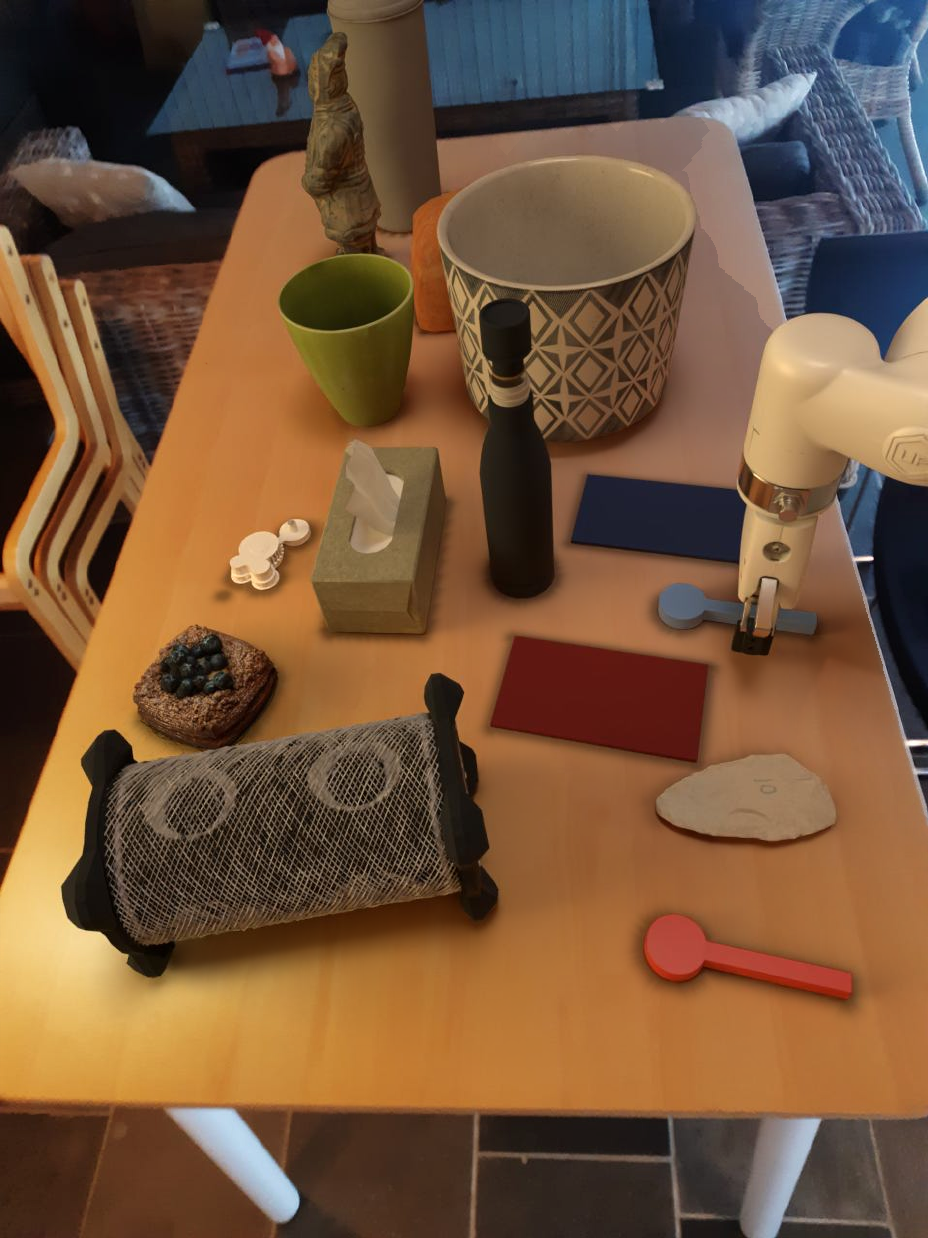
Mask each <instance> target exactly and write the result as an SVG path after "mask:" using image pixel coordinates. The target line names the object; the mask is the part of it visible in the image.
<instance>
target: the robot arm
mask: <svg viewBox="0 0 928 1238" xmlns="http://www.w3.org/2000/svg"><path fill="white" fill-rule="evenodd" d="M743 443H744V444H743V447H742V453H741V458H740V462H739V467H738V472H737V473H738V474H737V477H736V490H738V492H739V494H740V496H741V498H742V499H743V501H744V502H745V503H746V504H747V507H746V512H745V517H744V523H743V531H742V539H741V550H740V563H739V565H738V566H739V567H738V587H737V590H738V591H737V597H738V599H739V600H740V601H741V603H744V607H743V613H742V618H741V620H738V621H737V624H735V629H734V634H733V636H732V642H731V646H730V647H731V648H730V649H731V651H732V652H734V653H740V654H744V655H747V656H754V657H755V656H760V657H767V656H768V655H769V654H770V651H771V647H772V644H773V641H774V637H775V634H776V632H777V630H776V620H777V615H778V609H779V608H781V609H789V610H794V608H795V607H796V606H797V605H798V602H799V599H800V594H801V590H802V587H803V582H804V579H805V575H806V571H807V568H808V564H809V561H810V556H811V552H812V548H813V544H814V539H815V535H816V530H817V525H818V520H819V516H820V515H822V514H824V513H825V512H827V511H828V510H829V509H830V508H831V507H832V505H833V504H834V502H835V499H836V496H837V494H838V491H839V488H840V485H841V483H842V481H843V476H844V473H845V471H846V467H847V464H848V461H849V459H852V461H855V462H858V463H859V464H861V465H863V466H864V467H867V468H869V469H871V470H873V471H875V472H877V473H879V474H881V475H884V476H886V477H889V478H891V479H893V480H896V481H898V482H901V483H905V484H908V485H913V486H920V487H928V296H927V297H926V298H925V299H924V300H923V301H922V302H921V303H919V305H917V306H916V307H915V308H914V309H913V310H912V311H911V312H910V314H908V316H907V317H906V318H905V319H904V321H903V322H902V324H901V325H900V326H899V327H898V329H897V330H896V332H895V334H894V336H893V337H892V340H891V342H890V345H889V347H888V348H887V351H886V354H885V356H884V359H882V356H881V349H880V346H879V343H878V340H877V339H876V337H875V334H874V333H873V332H871V330H870V329H869V328H867V327H866V326H864V325H863V324H862V323H861V322H858V321H856V320H855V319H853V318H850V317H848V316H844V315H840V314H836V313H829V312H813V313H806V314H802V315H798V316H795V317H793V318H790V319H788V320H785V322H783V323H782V324H780V325H779V326H778V327H776V329H775V330H774V331H773V332H772V333H771V335H769V337H768V339H767V341H766V343H765V345H764V349H763V353H762V357H761V361H760V367H759V371H758V376H757V381H756V386H755V391H754V395H753V400H752V405H751V411H750V415H749V419H748V425H747V430H746V434H745V438H744V442H743ZM757 590H758V594H755V593H756V592H757ZM751 605H757V609H756V616H755V618H750V617H749V615H750V609H751Z"/></svg>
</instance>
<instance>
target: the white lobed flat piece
mask: <svg viewBox="0 0 928 1238" xmlns="http://www.w3.org/2000/svg"><path fill="white" fill-rule="evenodd" d="M311 531H312V530H311V528H310V525H309V523H308V522H307V521H305V520H304V519H301V518H294V519H293V518H292V519H288V521H286V522H284V523H283V524H282V525H281V527H280V528H279V532H278V534H279V535H278V537H277V535H276V534H274V533H272V532H269V531H265V530H264V531H257V532H253V533H251V534H249V535H247V536H246V537H244V538H243V540H241V542H240V543H239V546H238V555H235V556H233V557H232V558H231V559H230V561H229V565H230V567H231V569H230V573H231V575H230V577H231V580H232V582H234V583H235V584H239V585H241V584H247V583H249V582H251V584H252V586H253V588H255V589H257V590H259V591H264V590H270V589H271V588H273V587H275V586H276V585H277V584H278V582H279V580H280V573H279V571H277V568H278V567H279V566H280V565H281V564H282V562H283V560H284V557H285V556H284V554H285V547H284V545H286V546H290V547H296V546H297V547H298V546H301V545H302V544H303V545H304V544H305V543H306V542H307V541H309V540H310V538H311V536H312V535H311V534H312V533H311Z"/></svg>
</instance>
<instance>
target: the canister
mask: <svg viewBox="0 0 928 1238" xmlns="http://www.w3.org/2000/svg"><path fill="white" fill-rule="evenodd" d="M424 1H425V0H327V8H326V14H327V15H328V17H329V22H330V26H331V29H332V30H331V32H332V34H333V33H335V32H343V33H345V34H346V36H347V43H348V46H347V50H346V52H345V53H346V54H345V59H344V60H345V64H346V65H345V70H346V73H347V77H348V88H347V92H348V93H349V94H350V95H351V97H352V98H353V101H354V102H355V103H356V105H357V107H358V110H359V113H360V117H361V120H362V121H363V125H364V131H363V138H364V145H365V148H364V150H365V155H364V156H365V160H366V163H367V166H368V170H369V174H370V176H371V179H372V183H373V186H374V189H375V192H376V195H377V197H378V199H379V201H380V204H381V207H380V210H381V216H380V218H379V219H378V221H377V225H376V226H378V227H379V228H381V229H383V230H385V231H389V232H393V233H407V232H409V233H410V232H413V214H414V213H415V212H416V211H417V210H418V208H419V207H421V206H422V205H423V204H425V203H426V202H428V201H429V200H430V199H432V198H435V197H438V196H441V195H443V194H442V185H441V175H440V165H439V164H440V163H439V162H440V161H439V154H438V153H439V152H438V142H437V131H436V121H435V120H436V119H435V110H434V100H433V89H432V81H431V69H430V60H429V50H428V49H429V48H428V40H427V30H426V29H427V28H426V19H425V10H424V9H425V8H424Z"/></svg>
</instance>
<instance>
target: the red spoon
mask: <svg viewBox="0 0 928 1238" xmlns="http://www.w3.org/2000/svg"><path fill="white" fill-rule="evenodd" d="M645 935H646V936H645V940H644V954H645V958H646V961H647V963H648V965H649V966H650V968H651V969H652V970H653V971H654V972H655V973H656V974H657V975H659V976H660V977H661V978H663V979H665V980H669V981H672V982H685V981H688V980H691V979H692V978H694V977H695V976H697V975H698V974H699V973H700V972H701V970H702V968H708V969H712V970H716V971H721V972H725V973H729V974H734V975H738V976H742V977H747V978H752V979H756V980H761V981H764V982H769V983H773V984H777V985H781V986H782V985H783V986H786V987H791V988H795V989H800V990H804V991H808V992H813V993H817V994H822V995H825V996H831V997H833V998H840V999H843V1000H848V998H849V997H851V995H852V993H853V973H852V972H849V971H844V970H840V969H834V968H830V967H826V966H822V965H817V964H812V963H808V962H803V961H798V960H795V959H789V958H784V957H780V956H776V955H772V954H767V953H764V952H763V953H762V952H757V951H753V950H749V949H744V948H740V947H735V946H732V945H727V944H723V943H722V944H721V943H718V942H713V941H708V940H707V937H706V935H705V933H704V931H703V929H702V928H701V926H699V924H698V923H697V922H695V921H694V920H693V919H691V918H689V917H688V916H685V915H682V914H677V913H670V914H664V915H662V916H660V917H658V918H656V919H655V920H654V921H653V922H652V923H651V924H650V926H649V927H648V929H647V931H646V934H645Z"/></svg>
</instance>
